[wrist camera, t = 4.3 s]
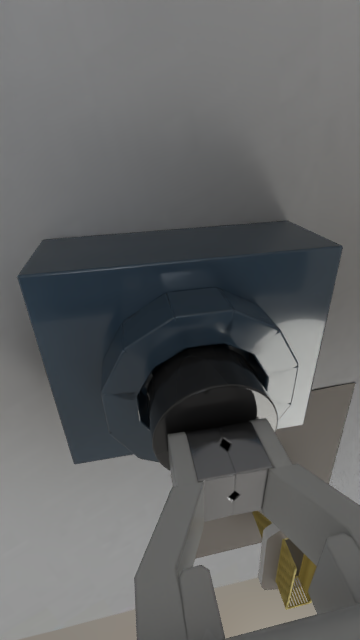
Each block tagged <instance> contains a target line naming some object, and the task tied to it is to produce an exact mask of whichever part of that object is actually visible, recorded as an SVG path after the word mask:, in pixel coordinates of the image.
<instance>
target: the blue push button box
mask: <svg viewBox="0 0 360 640" xmlns="http://www.w3.org/2000/svg"><path fill="white" fill-rule="evenodd" d="M342 249H343V246H341V245H339V244H337V243H335V242H333V241H331V240H329V239H326V238H324V237H322V236H320V235H318V234H316V233H314V232H311V231H309V230H307V229H305V228H303V227H301V226H299V225H296V224H294V223H292V222H290V221H276V222H264V223H251V224H238V225H225V226H212V227H200V228H187V229H174V230H161V231H148V232H136V233H123V234H110V235H97V236H85V237H72V238H59V239H46V240H42V242H41V243H40V245H39V246H38V247H37V249H36V250H35V252H34V253H33V254H32V256H31V257H30V259H29V260H28V262H27V263H26V264H25V266H24V267H23V269H22V270H21V271H20V273H19V274H18V276H17V279H18V282H19V285H20V288H21V292H22V295H23V298H24V302H25V305H26V308H27V311H28V315H29V318H30V321H31V324H32V328H33V331H34V334H35V338H36V341H37V344H38V347H39V351H40V354H41V357H42V361H43V364H44V367H45V370H46V374H47V377H48V380H49V384H50V387H51V390H52V393H53V397H54V400H55V403H56V407H57V410H58V413H59V416H60V420H61V423H62V426H63V430H64V433H65V436H66V439H67V443H68V446H69V449H70V453H71V456H72V459H73V462H74V464H80V463H86V462H92V461H97V460H103V459H109V458H115V457H121V456H126V455H132V454H134V455H136V456H137V457H138V458H140V459H144V460H150V461H155V462H159V461H158V459H157V458H156V456H155V454H154V452H153V447H152V441H151V433H150V425H149V417H148V409H147V400H146V394H147V388H148V385H149V383H150V381H151V379H152V377H153V375H154V374H155V372H156V371H157V370H158V369H159V367H160V366H161V365H162V364H164V363H165V362H166V361H167V360H169V359H170V358H171V357H173V356H175V355H177V354H178V353H180V352H183V351H185V350H188V349H191V348H195V347H201V346H219V347H225V348H228V349H231V350H233V351H235V352H237V353H239V354H240V355H242V356H243V357H244V358H245V359H246V360H247V361H248V362H249V363H250V365H251V367H252V368H253V370H254V372H255V373H256V375H257V377H258V378H259V380H260V382H261V383H262V385H263V387H264V388H265V390H266V391H267V393H268V395H269V396H270V398H271V400H272V401H273V403H274V405H275V407H276V410H277V415H278V424H277V429H283V428H289V427H294V426H300V425H303V424H304V420H305V415H306V411H307V406H308V402H309V397H310V393H311V388H312V384H313V379H314V375H315V370H316V366H317V361H318V357H319V352H320V348H321V343H322V339H323V334H324V330H325V325H326V321H327V316H328V312H329V307H330V303H331V298H332V294H333V289H334V285H335V280H336V276H337V271H338V267H339V263H340V258H341V254H342ZM277 429H276V430H277Z"/></svg>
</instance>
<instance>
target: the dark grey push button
mask: <svg viewBox="0 0 360 640" xmlns="http://www.w3.org/2000/svg"><path fill="white" fill-rule="evenodd" d="M146 400H147V409H148V417H149V425H150V433H151V441H152V447H153V452H154V454H155V456H156V458H157V459H158V461H159V462H160V463H161V464H162V465H163V466H164V467H165V468H167V469H168V470H170V463H169V451H168V434H172V433H178V432H185V431H191V430H198V429H205V428H212V427H217V426H221V425H227V424H232V423H238V422H243V421H251V420H257V419H262V418H266V419H267V420H268V421H269V423H270V425H271V426H272V428H273V430H274V432H276V429H277V424H278V415H277V410H276V407H275V405H274V403H273V401H272V400H271V398H270V396H269V395H268V393H267V391H266V390H265V388H264V387H263V385H262V383H261V382H260V380H259V378H258V377H257V375H256V373H255V372H254V370H253V368H252V367H251V365H250V363H249V362H248V361H247V360H246V359H245V358H244V357H243V356H242V355H240V354H239V353H237V352H235V351H233V350H231V349H228V348H225V347H219V346H201V347H195V348H191V349H188V350H185V351H183V352H180V353H178V354H177V355H175V356H173V357H171V358H170V359H169V360H167V361H166V362H165V363H164V364H162V365H161V366H160V367H159V369H158V370H157V371H156V372H155V374H154V375H153V377H152V379H151V381H150V383H149V385H148V388H147V394H146Z"/></svg>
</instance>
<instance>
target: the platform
mask: <svg viewBox="0 0 360 640" xmlns="http://www.w3.org/2000/svg"><path fill="white" fill-rule="evenodd" d="M354 386H355V383H351V384H346V385H340V386H335V387H330V388H325V389H319V390H314V391H311V393H310V397H309V402H308V406H307V411H306V415H305V420H304V424H303V425H300V426H294V427H289V428H283V429H277V430H276V432H275V434H276V435H277V437H278V439H279V441H280V442H281V444H282V446H283V448H284V450H285V451H286V453H287V455H288V457H289V458H290V460H291V462H292V464H299V465H301V466H302V467H304V468H305V469H307V470H308V471H310V472H311V473H312V474H314V475H315V476H317V477H318V478H320V479H321V480H323V481H324V482H326V483H327V484H329V481H330V477H331V473H332V470H333V466H334V462H335V458H336V454H337V451H338V447H339V443H340V439H341V436H342V432H343V428H344V424H345V420H346V417H347V413H348V409H349V405H350V402H351V398H352V394H353V390H354ZM261 542H262V546H261V555H260V564H259V574H258V578H259V580H260V584H261V587H262V588H263V589H264V590H272V589H279V591H280V594H281V597H282V599H283V602H284V605H285V608H286V610H287V609H290V608H294V607H298V606H302V605H305V604H309V603H311V602H312V600H311V598H310V595H309V593H308V589H309V587H310V584H311V581H312V578H313V575H314V572H315V570H316V567H317V566H316V565H315V564H314V563H313V562H312V561H311V560H310V559H309V558H308V557H307V556H306V555H305V554H304V553H303V552H302V551H301V550H300V549H299V548H298V547H297V546H296V545H295V544H294V543H293V542H292V541H291V540H290V539H289V538H288V537H287V536H286V535H285V534H284V533H283V532H282V531H281V530H280V529H279V528H278V527H277V526H276V525H275V524H274V523H273V522H272V521H271V520H270V519H269V518H268V517H267V516H266V515H265V514H264V513H263V512H262V510H260V511H254V512H248V513H243V514H237V515H232V516H228V517H223V518H219V519H215V520H211V521H207V522H204V527H203V530H202V534H201V538H200V542H199V545H198V549H197V553H196V557H195V559H196V558H200V557H204V556H208V555H212V554H216V553H220V552H224V551H228V550H232V549H236V548H241V547H245V546H249V545H253V544H257V543H261ZM301 586H302V588H303V587H304V588H303V591H304V593H305V596H306V598H307V600H308V602H306V599H305V597H304V594H303V592H302V590H301ZM298 587H299V588H300V590H301V593H302V595H303V598H304V600H305V602H306V603H304V601H303V599H302V597H301V594H300V592H299V589H298ZM293 588H294V590H295V592H296V595H297V597H298V594H297V591H296V589H295V588H297V590H298V592H299V595H300V597H301V600H302V602H303V603H302V604H301V601H300V599H299V597H298V599H299V602H300V604H298V601H297V599H296V596H295V594H294V591H293ZM304 589H305V590H304ZM291 592H293V594H294V597H295V599H296V602H297V604H298V605H296V603H295V601H294V599H293V596H292V593H291ZM306 594H307V595H306ZM290 596H291V597H292V599H293V602H294V604H295V606H293V603H292V601H291V598H290ZM289 601H291V604H292V606H290V603H289ZM309 601H310V602H309ZM288 605H289V607H288Z"/></svg>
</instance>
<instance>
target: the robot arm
mask: <svg viewBox="0 0 360 640" xmlns="http://www.w3.org/2000/svg"><path fill="white" fill-rule="evenodd" d="M168 451H169V463H170V472H171V479H172V485H173V487H172V489H171V491H170V494H169V496H168V499H167V501H166V503H165V506H164V508H163V511H162V513H161V515H160V518H159V520H158V523H157V525H156V527H155V530H154V532H153V534H152V537H151V539H150V542H149V544H148V546H147V549H146V551H145V554H144V556H143V558H142V561H141V563H140V566H139V568H138V570H137V573H136V575H135V577H134V583H135V606H136V629H137V640H360V505H358V504H357V503H355V502H354V501H352V500H351V499H349V498H348V497H346V496H345V495H343V494H342V493H341V492H339V491H338V490H336V489H335V488H333V487H332V486H330V485H329V484H327V483H326V482H324V481H323V480H321V479H320V478H318V477H317V476H315V475H314V474H312V473H311V472H310V471H308V470H307V469H305V468H304V467H302V466H301V465H299V464H292V462H291V460H290V458H289V457H288V455H287V453H286V451H285V450H284V448H283V446H282V444H281V442H280V441H279V439H278V437H277V435H276V434H275V432H274V430H273V428H272V426H271V425H270V423H269V421H268V420H267V419H266V418H262V419H257V420H251V421H243V422H238V423H232V424H227V425H221V426H217V427H212V428H205V429H198V430H191V431H185V432H178V433H172V434H168ZM260 510H262V512H263V513H264V514H265V515H266V516H267V517H268V518H269V519H270V520H271V521H272V522H273V523H274V524H275V525H276V526H277V527H278V528H279V529H280V530H281V531H282V532H283V533H284V534H285V535H286V536H287V537H288V538H289V539H290V540H291V541H292V542H293V543H294V544H295V545H296V546H297V547H298V548H299V549H300V550H301V551H302V552H303V553H304V554H305V555H306V556H307V557H308V558H309V559H310V560H311V561H312V562H313V563H314V564H315V565H316V566H317V567H316V570H315V572H314V575H313V578H312V581H311V584H310V587H309V589H308V593H309V595H310V598H311V600H312V602H313V605H314V607H315V610H316V612H317V615H314V616H310V617H306V618H302V619H298V620H294V621H291V622H287V623H283V624H279V625H275V626H272V627H268V628H264V629H260V630H257V631H253V632H249V633H246V634H241V635H238V636H234V637H230V638H226V639H225V635H224V631H223V627H222V622H221V618H220V614H219V609H218V605H217V601H216V596H215V592H214V588H213V584H212V579H211V575H210V571H209V570H208V569H207V568H205V567H204V566H202V565H199V566H195V567H193V564H194V560H195V557H196V553H197V549H198V545H199V542H200V538H201V534H202V530H203V527H204V522H207V521H211V520H215V519H219V518H223V517H228V516H232V515H237V514H243V513H248V512H254V511H260Z"/></svg>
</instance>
